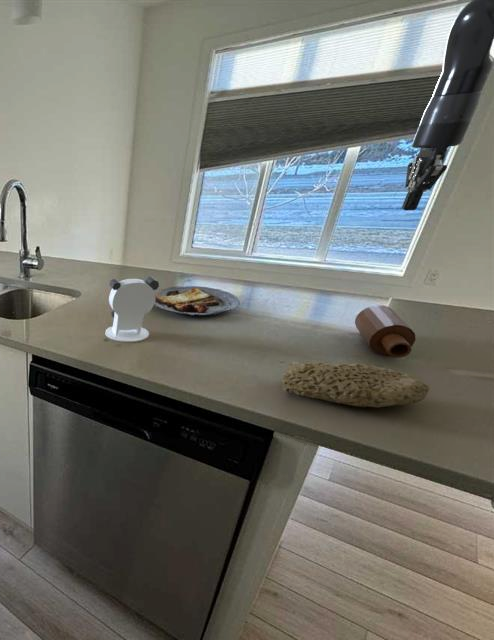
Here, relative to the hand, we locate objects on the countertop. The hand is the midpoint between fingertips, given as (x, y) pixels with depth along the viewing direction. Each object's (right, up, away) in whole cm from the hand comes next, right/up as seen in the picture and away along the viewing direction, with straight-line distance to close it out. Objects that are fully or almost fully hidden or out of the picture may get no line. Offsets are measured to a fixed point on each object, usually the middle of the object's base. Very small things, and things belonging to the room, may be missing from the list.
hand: (408, 209), depth 93 cm
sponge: (-29, -43, -15) cm, 54 cm away
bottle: (-3, -25, +5) cm, 25 cm away
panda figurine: (-58, -27, +18) cm, 67 cm away
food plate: (-34, -16, +32) cm, 49 cm away
